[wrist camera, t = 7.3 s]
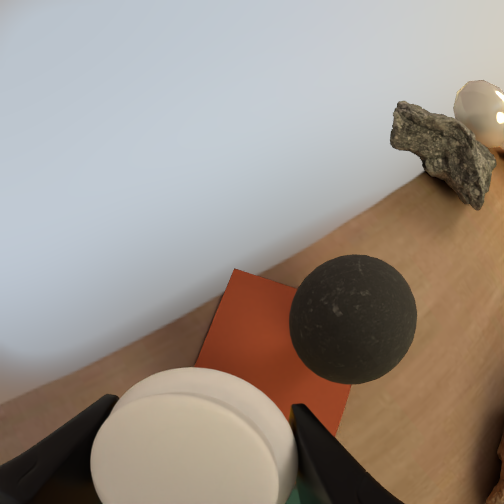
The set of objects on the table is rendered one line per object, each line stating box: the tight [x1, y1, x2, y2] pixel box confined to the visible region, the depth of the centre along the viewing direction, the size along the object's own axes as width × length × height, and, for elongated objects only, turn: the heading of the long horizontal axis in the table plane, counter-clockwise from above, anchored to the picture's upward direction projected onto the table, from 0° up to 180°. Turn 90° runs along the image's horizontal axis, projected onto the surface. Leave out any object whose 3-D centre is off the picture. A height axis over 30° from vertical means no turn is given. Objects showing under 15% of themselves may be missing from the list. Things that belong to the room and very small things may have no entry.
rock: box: [390, 101, 496, 210], centre depth 24 cm, size 13×13×10 cm
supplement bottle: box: [90, 367, 298, 504], centre depth 9 cm, size 6×6×10 cm
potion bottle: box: [453, 80, 504, 150], centre depth 27 cm, size 9×10×15 cm
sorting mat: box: [194, 269, 351, 504], centre depth 15 cm, size 10×26×1 cm, turn 161°
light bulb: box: [289, 255, 417, 385], centre depth 14 cm, size 6×6×10 cm
